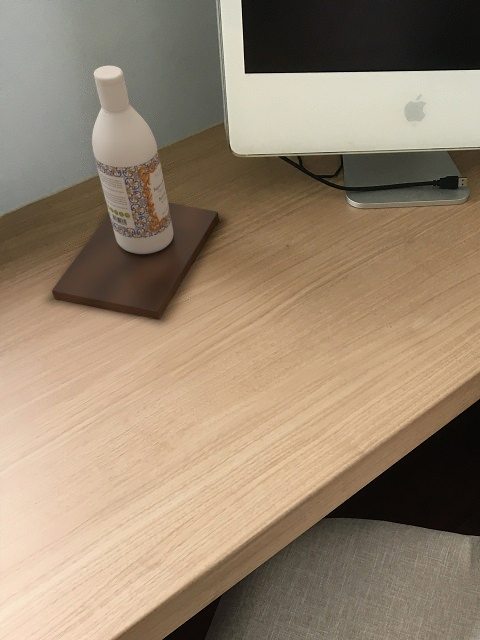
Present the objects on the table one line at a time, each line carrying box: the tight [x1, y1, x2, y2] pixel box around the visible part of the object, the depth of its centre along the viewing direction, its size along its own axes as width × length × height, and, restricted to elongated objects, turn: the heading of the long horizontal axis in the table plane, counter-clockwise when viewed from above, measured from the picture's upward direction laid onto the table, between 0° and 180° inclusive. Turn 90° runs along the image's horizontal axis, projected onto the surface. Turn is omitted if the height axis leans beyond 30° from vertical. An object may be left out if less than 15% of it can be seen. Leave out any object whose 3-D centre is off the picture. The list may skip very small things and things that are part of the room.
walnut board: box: [51, 202, 220, 320], centre depth 96 cm, size 13×20×1 cm, turn 167°
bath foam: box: [91, 65, 173, 254], centre depth 89 cm, size 7×7×20 cm
